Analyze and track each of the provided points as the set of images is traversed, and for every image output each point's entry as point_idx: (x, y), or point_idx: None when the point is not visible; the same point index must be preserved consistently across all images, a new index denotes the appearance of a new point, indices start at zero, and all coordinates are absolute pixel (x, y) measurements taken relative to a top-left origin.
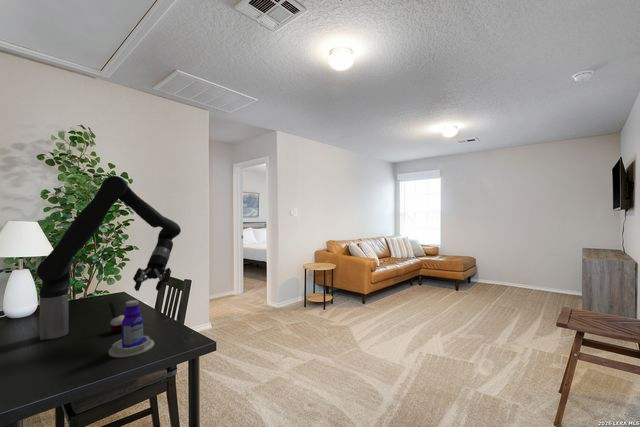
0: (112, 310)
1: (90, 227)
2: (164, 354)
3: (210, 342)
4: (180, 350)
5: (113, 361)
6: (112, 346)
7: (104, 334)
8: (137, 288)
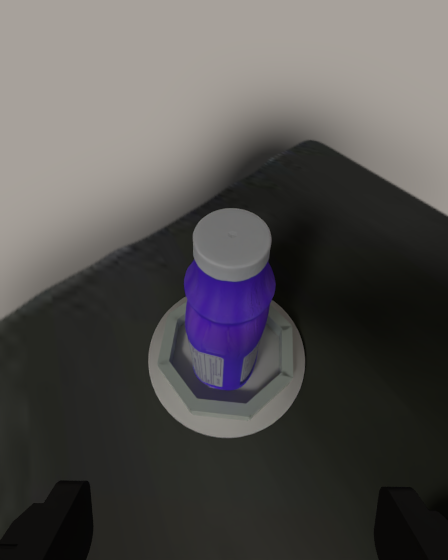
0: None
1: None
2: (90, 298)
3: None
4: (39, 322)
5: None
6: (287, 324)
7: None
8: (389, 522)
